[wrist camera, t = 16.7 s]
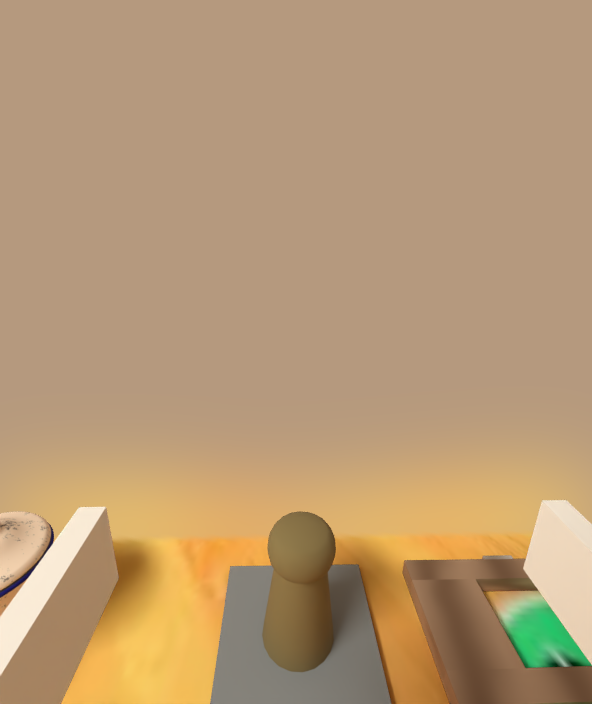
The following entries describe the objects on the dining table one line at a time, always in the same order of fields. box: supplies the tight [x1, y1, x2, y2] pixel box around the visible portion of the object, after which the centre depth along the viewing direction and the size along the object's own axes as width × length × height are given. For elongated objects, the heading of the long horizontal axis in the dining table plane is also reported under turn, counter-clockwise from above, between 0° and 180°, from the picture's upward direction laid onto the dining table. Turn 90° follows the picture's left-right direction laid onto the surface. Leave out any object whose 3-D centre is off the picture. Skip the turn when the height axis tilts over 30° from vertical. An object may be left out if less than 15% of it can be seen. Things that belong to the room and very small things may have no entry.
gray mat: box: [210, 564, 391, 704], centre depth 31 cm, size 13×13×1 cm
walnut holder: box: [403, 556, 592, 704], centre depth 32 cm, size 20×13×2 cm, turn 92°
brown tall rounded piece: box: [262, 512, 336, 672], centre depth 29 cm, size 6×6×11 cm
